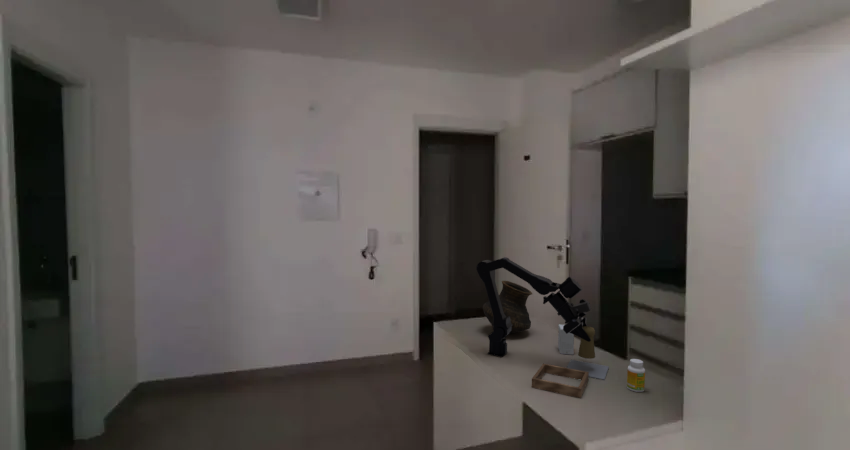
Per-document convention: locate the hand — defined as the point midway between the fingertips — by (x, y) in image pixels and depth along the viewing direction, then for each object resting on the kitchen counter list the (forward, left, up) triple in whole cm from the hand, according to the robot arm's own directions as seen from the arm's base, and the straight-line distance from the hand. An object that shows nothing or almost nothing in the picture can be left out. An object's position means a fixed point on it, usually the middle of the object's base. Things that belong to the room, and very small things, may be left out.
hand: (591, 339), depth 159 cm
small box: (-12, +17, -12) cm, 24 cm away
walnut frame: (-7, -18, -12) cm, 23 cm away
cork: (-1, 0, -7) cm, 7 cm away
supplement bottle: (+16, -9, -12) cm, 22 cm away
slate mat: (-1, 0, -12) cm, 12 cm away
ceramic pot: (-42, +29, -12) cm, 53 cm away
